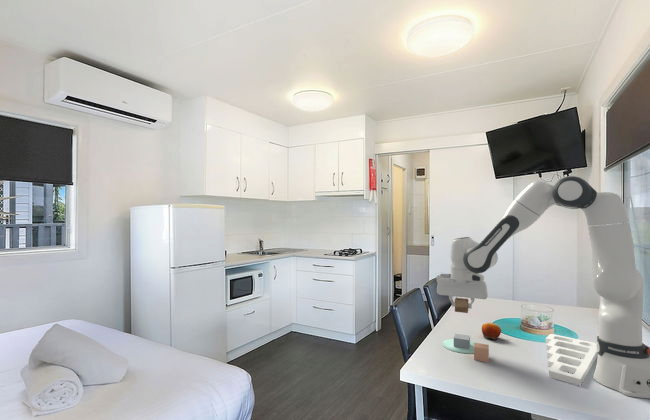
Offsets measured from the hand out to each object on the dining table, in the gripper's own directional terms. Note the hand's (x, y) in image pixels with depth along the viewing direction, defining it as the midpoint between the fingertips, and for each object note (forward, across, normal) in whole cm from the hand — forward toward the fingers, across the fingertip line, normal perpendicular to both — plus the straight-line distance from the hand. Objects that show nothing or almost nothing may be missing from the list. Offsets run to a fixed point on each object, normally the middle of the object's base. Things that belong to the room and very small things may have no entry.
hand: (461, 307), depth 146 cm
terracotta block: (+17, +8, -10) cm, 21 cm away
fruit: (+17, +11, +17) cm, 26 cm away
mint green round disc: (+17, 0, 0) cm, 17 cm away
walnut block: (+2, 0, 0) cm, 2 cm away
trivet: (+17, +36, +5) cm, 41 cm away
